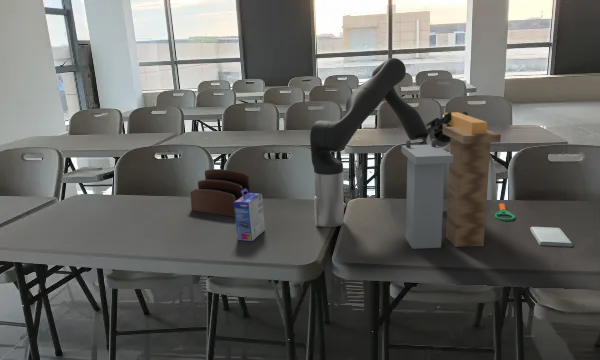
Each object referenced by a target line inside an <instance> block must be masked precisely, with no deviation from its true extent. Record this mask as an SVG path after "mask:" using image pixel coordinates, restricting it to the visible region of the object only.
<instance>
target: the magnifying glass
mask: <svg viewBox="0 0 600 360" xmlns="http://www.w3.org/2000/svg"><path fill="white" fill-rule="evenodd" d="M498 207H499V211H497V212H496V213H495V214H494V218H495V220H498V221H501V222H512V221H514V220H515V218H516V216H515V214H513V213H511V212H510V211H508V210H507V209H506V204H505V203H499V204H498ZM499 216H503V217H504V216H505V217H509V218H503V217H499Z"/></svg>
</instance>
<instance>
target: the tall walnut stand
mask: <svg viewBox="0 0 600 360" xmlns="http://www.w3.org/2000/svg"><path fill="white" fill-rule="evenodd" d="M443 134H445V135H447V136H449V137H451V139H450V144H449V153H450V154H452V155H453V163H448V186H447V205H446V207H447V208H446V209H447V210H446V225H445V226H446V229H445V230H446V231H445V237H446V238H447V239H448V240H449V242H450V243H451V244H452V245H453V246H454V247H456V248H457V247H458V248H460V247H484V244H485V231H486V230H485V229H486V215H487V214H486V213H487V200H488V185H489V174H490V173H489V172H490V171H489V170H490V156H491V144H492V143H501V138H502V135H501V134H500V133H498V132H495V131H493V130H489V129H487V134H470V133H467V132H465V131H463V130H460V129H458V128H456V127H444V128H443Z"/></svg>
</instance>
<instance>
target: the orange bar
mask: <svg viewBox="0 0 600 360" xmlns="http://www.w3.org/2000/svg"><path fill="white" fill-rule="evenodd" d="M450 112H451V111H450ZM448 113H449V112H444V116H445V115H446V114H448ZM462 113H463V112H462ZM462 113H461V112H457V111H456V112H453V111H452V112H451V117H452V119H451V121H450V122H449V123H448V124H449V125H451V126H453V127H456V128H458V129H460V130H463V131H465V132H467V133H470V134H487V130H488V121H486V120H482V119H480V118H476V117H474V116H471V115H469V114H468V115H464V114H462Z"/></svg>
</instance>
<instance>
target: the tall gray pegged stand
mask: <svg viewBox="0 0 600 360" xmlns="http://www.w3.org/2000/svg"><path fill="white" fill-rule="evenodd" d="M411 142H412V140H410V139H406V140H405V145H401V153H402V154H403V155H404V156H405V157H406V158H407V168H406V170H407V171H406V205H405V208H406V209H405V211H406V212H405V240H406V241H407V243H408V244H409V246H410V248H411V249H413V250H414V249H416V250H417V249H440V248H442V235H443V234H442V231H443V212H444V210H443V209H444V186H445V168H446V167H445V165H446V164H449V163H453V155H452V154H450V152H449V151H446V150H445V149H444V150H443V149H442V148H440V147H438V146H437V145H436V139H432V143H431V145H418V144H412V143H411Z"/></svg>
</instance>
